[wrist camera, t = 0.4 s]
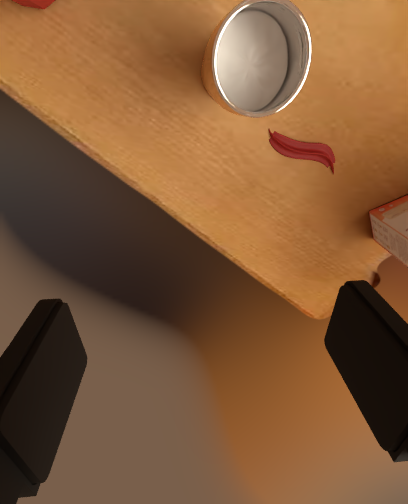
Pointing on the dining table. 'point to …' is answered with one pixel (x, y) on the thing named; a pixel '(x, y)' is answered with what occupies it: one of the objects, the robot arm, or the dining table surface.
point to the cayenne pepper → (302, 149)
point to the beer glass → (257, 57)
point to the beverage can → (35, 3)
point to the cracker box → (392, 228)
